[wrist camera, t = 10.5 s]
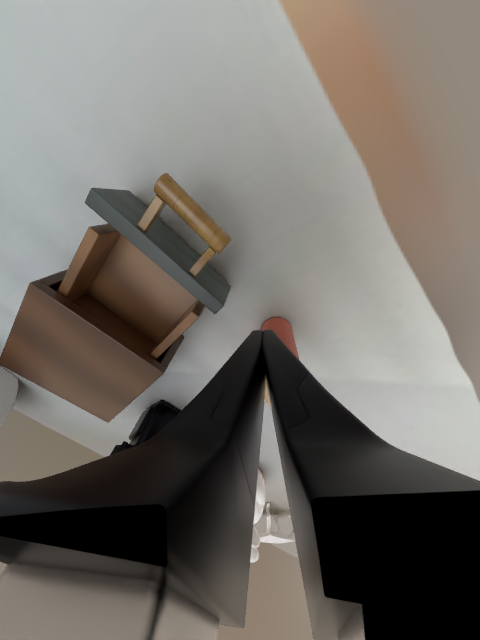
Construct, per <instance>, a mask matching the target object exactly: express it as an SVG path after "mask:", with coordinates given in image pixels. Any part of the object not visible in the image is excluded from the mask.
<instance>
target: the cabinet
mask: <svg viewBox="0 0 480 640" xmlns="http://www.w3.org/2000/svg"><path fill="white" fill-rule="evenodd" d="M67 270H68V269H67ZM67 270H65V271H62V272H59V273H56V274H53V275H50V276H48V277H45V278H42V279H39V280H36V281H34V282H31V283H29V286H28V288H27V291H26V294H25V296H24V299H23V301H22V304H21V306H20V309H19V311H18V314H17V316H16V319H15V321H14V324H13V327H12V329H11V332H10V334H9V337H8V339H7V342H6V344H5V347H4V349H3V352H2V354H1V357H0V365H1V366H3V367H5V368H7V369H9V370H11V371H12V372H14V373H16V374H18V375H20V376H22V377H24V378H26V379H27V380H29V381H31V382H33V383H35V384H37V385H39V386H40V387H42V388H44V389H46V390H48V391H50V392H52V393H54V394H55V395H57V396H59V397H61V398H63V399H65V400H67V401H68V402H70V403H72V404H74V405H76V406H78V407H80V408H81V409H83V410H85V411H87V412H89V413H91V414H93V415H95V416H96V417H98V418H100V419H102V420H104V421H106V422H110V421H111V420H112V419H113V418H114V417H115V416H116V415H117V414H119V413H120V412H121V411H122V410H123V409H124V408H125V407H126V406H128V405H129V404H130V403H131V402H132V401H133V400H134V399H135V398H136V397H138V396H139V395H140V394H141V393H142V392H143V391H144V390H145V389H147V388H148V387H149V386H150V385H151V384H152V383H153V382H154V381H156V380H157V379H158V378H159V377H160V376H161V375H162V374H163V373H164V372H165V370H166V368H167V367H168V365H169V363H170V361H171V360H172V358H173V356H174V354H175V353H176V351H177V349H178V347H179V346H180V344H181V342H182V340H183V338H184V336H182V335H180V336H179V337H178V338H177V339H176V340H175V341H174V342H173V343H172V344H171V345H170V346H169V347H168V348H167V349H166V350H165V351H164V352H163V353H162V354H161V355H160V356H159V357H158V358H157V359H156V360H155V359H153V358H152V357H150V356H149V355H147V354H146V353H145V352H143V351H142V350H140V349H139V348H137V347H136V346H134V345H133V344H132V343H130V342H129V341H127V340H126V339H124V338H123V337H121V336H120V335H118V334H117V333H116V332H114V331H113V330H111V329H110V328H108V327H107V326H105V325H104V324H102V323H101V322H100V321H98V320H97V319H95V318H94V317H92V316H91V315H89V314H88V313H87V312H85V311H84V310H82V309H81V308H79V307H78V306H76V305H75V304H73V303H72V302H71V301H69V300H68V299H66V298H65V297H63V296H62V295H60V294H59V293H57V291H58V289H59V287H60V285H61V283H62V281H63V279H64V277H65V274H66V272H67Z"/></svg>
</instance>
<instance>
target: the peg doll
mask: <svg viewBox="0 0 480 640" xmlns="http://www.w3.org/2000/svg"><path fill="white" fill-rule="evenodd" d="M268 329H272V330H273V331H274V332H275V333H276V334H277V336H278V337H279V338H280V339H281V340H282V341H283V342H284V344H285V345H286V346H287V347H288V348H289V349H290V350H291V351H292V353H293V354H294V355H295V356H296V357H297V358H298V359H299V357H298V353H297V348H296V344H295V340H294V336H293V331H292V327H291V325H290V323H289V322H288V321H287V320H285V319H283V318H280V317H274V318H270V319H268V320H267V321H265V322H264V324H263V325H262V328H261V330H262V332H263V330H268ZM264 399H265V400H266V402H267V403H268V404H269V406H271V404H270V398H269V393H268V387H267V381H266V386H265V398H264Z"/></svg>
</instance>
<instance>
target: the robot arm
mask: <svg viewBox="0 0 480 640" xmlns="http://www.w3.org/2000/svg"><path fill="white" fill-rule="evenodd" d="M266 381H267V387H268V393H269V398H270V404H271V409H272V415H273V420H274V426H275V431H276V436H277V442H278V447H279V453H280V458H281V464H282V469H283V475H284V480H285V486H286V491H287V497H288V502H289V507H290V513H291V519H292V524H293V529H294V535H295V540H296V546H297V551H298V557H299V562H300V568H301V573H302V579H303V584H304V589H305V595H306V600H307V606H308V611H309V617H310V622H311V628H312V634H313V639H315V640H480V481H478V480H476V479H473V478H470V477H468V476H465V475H463V474H460V473H458V472H455V471H453V470H450V469H448V468H445V467H443V466H440V465H438V464H435V463H433V462H430V461H427V460H425V459H422V458H420V457H417V456H415V455H412V454H410V453H407V452H405V451H402V450H400V449H398V448H396V447H394V446H392V445H390V444H389V443H387V442H386V441H384V440H383V439H381V438H380V437H379V436H377V435H376V434H375V433H374V432H372V431H371V430H370V429H369V428H368V427H367V426H365V425H364V424H363V423H362V422H361V421H360V420H359V419H358V418H356V417H355V416H354V415H353V414H352V413H351V412H350V411H349V410H347V409H346V408H345V407H344V406H343V405H342V404H341V403H340V402H339V401H337V400H336V399H335V398H334V397H333V396H332V395H331V394H330V393H329V392H328V391H327V390H326V389H325V388H324V387H323V386H322V385H321V384H320V383H319V382H318V381H317V380H316V379H315V378H314V376H313V375H312V374H311V373H310V372H309V371H308V370H307V369H306V367H305V366H304V365H303V364H302V363H301V362H300V361H299V359H298V358H297V357H296V356H295V355H294V354H293V353H292V351H291V350H290V349H289V348H288V347H287V346H286V345H285V344H284V342H283V341H282V340H281V339H280V338H279V337H278V336H277V334H276V333H275V332H274V331H273V330H272V329H268V330H263V332H262V330H256V331H252V332H251V334H250V335H249V336H248V337H247V338H246V339H245V341H244V342H243V343H242V344H241V345H240V347H239V348H238V349H237V350H236V351H235V352H234V354H233V355H232V356H231V357H230V358H229V359H228V361H227V362H226V363H225V364H224V365H223V367H222V368H221V369H220V370H219V371H218V372H217V374H216V375H215V376H214V377H213V378H212V379H211V381H210V382H209V383H208V384H207V385H206V386H205V387H204V388H203V390H202V391H201V392H200V393H199V394H198V395H197V396H196V397H195V398H194V399H193V400H192V401H191V402H190V403H189V404H188V405H187V406H186V407H185V408H184V409H183V410H182V411H179V410H177V409H176V408H174V407H173V406H171V405H169V404H168V403H166V402H165V401H162V400H161V401H159V402H158V403H156V404H155V405H154V406H153V407H149V408H148V409H147V410H146V411H144V412H143V413H142V415H141V416H140V418H139V420H138V422H137V424H136V425H135V427H134V429H133V431H132V432H131V434H130V436H129V439H130V440H131V442H130V444H128V442H125V441H124V442H123V443H122V445H116V446H115V448H114V449H113V451H112V453H111V454H110V456H107V457H104V458H102V459H99V460H96V461H93V462H90V463H88V464H85V465H82V466H79V467H76V468H74V469H71V470H68V471H65V472H62V473H59V474H56V475H53V476H50V477H46V478H43V479H38V480H33V481H27V482H12V481H3V482H0V561H1V562H3V563H6V564H8V565H7V566H6V567H5V569H4V570H3V572H2V573H1V575H0V640H218V630H219V625H225V626H232V627H238V628H244V625H245V614H246V602H247V591H248V579H249V568H250V557H251V546H252V535H253V523H254V512H255V507H254V506H255V500H256V489H257V477H258V466H259V454H260V443H261V432H262V420H263V409H264V398H265V386H266Z"/></svg>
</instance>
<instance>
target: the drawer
mask: <svg viewBox="0 0 480 640" xmlns="http://www.w3.org/2000/svg"><path fill="white" fill-rule="evenodd" d="M154 192H155V193H156V194H157V195H155V197H154V199H153V200H152V202H151V204H150V205H149V207H148V208H147V207H146V206H145V205H144V204H143V203H142V202H141V201H140V200H139V199H138V198H136V197H135V196H134V195H133V194H132V193H131V192H130V191H127V190H114V189H101V188H91V190H90V192H89V194H88V196H87V199H86V201H85V203H86V204H87V205H88V206H89V207H90V208H91V209H93V210H94V211H95V212H96V213H97V214H98V215H100V216H101V217H102V218H103V219H104V220H105V221H107V222H108V223H109V224H104V225H98V226H91V227H89V228H88V230H87V232H86V234H85V236H84V238H83V240H82V242H81V244H80V246H79V248H78V250H77V252H76V254H75V256H74V258H73V260H72V262H71V264H70V266H69V268H68V270H67V272H66V274H65V277H64V279H63V281H62V283H61V285H60V287H59V289H58V291H57V293H59V294H60V295H62V296H63V297H65V298H66V299H68V300H69V301H71V302H72V303H73V304H75V305H76V306H78V307H79V308H81V309H82V310H84V311H85V312H87V313H88V314H89V315H91V316H92V317H94V318H95V319H97V320H98V321H100V322H101V323H102V324H104V325H105V326H107V327H108V328H110V329H111V330H113V331H114V332H116V333H117V334H118V335H120V336H121V337H123V338H124V339H126V340H127V341H129V342H130V343H132V344H133V345H134V346H136V347H137V348H139V349H140V350H142V351H143V352H145V353H146V354H147V355H149V356H150V357H152V358H153V359H155V360H156V359H157V358H158V357H159V356H160V355H161V354H162V353H163V352H164V351H165V350H166V349H167V348H168V347H169V346H170V345H171V344H172V343H173V342H174V341H175V340H176V339H177V338H178V337H179V336H180V335H181V334H182V333H183V332H184V331H186V330H187V329H188V328H189V327H190V326H191V325H192V324H193V323H194V322H195V321H196V320H197V319H198V318H199V316H200V314H201V313H202V311H203V309H204V307H205V306H206V307H207V308H208V309H209V310H211V311H212V312H213V313H214V314H216V313H217V312H218V311H219V310H220V309H221V308H222V307H223V306H224V304H225V302H226V299H227V296H228V293H229V290H230V288H231V286H230V285H229V284H228V283H227V282H226V281H225V280H224V279H223V278H222V277H221V276H220V275H219V274H217V273H216V272H215V271H214V270H213V269H212V268H211V267H210V266H209V265H208V264H207V262H208V261H209V260H210V259H211V258H212V257H213V255H214V254H215V253H216V252H217V253H218V254H219V253H220V252H221V251H222V250H223V249H224V248H225V247H226V245H227V244H228V243H229V242H230V241H231V238H230V237H229V236H228V235H227V234H226V233H225V232H224V231H223V230H222V229H221V228H220V227H219V226H218V225H217V224H216V223H215V222H214V220H213V219H212V218H211V217H210V216H209V215H208V214H207V213H206V212H205V211H204V210H203V209H202V208H201V207H200V206H199V205H198V204H197V203H196V202H195V201H194V200H193V199H192V198H191V197H190V196H189V195H188V194H187V193H186V192H185V191H184V189H183V188H182V187H181V186H180V185H179V184H178V183H177V182H176V181H175V180H174V179H173V178H172V177H171V176H170V175H169V174H168V173H165V174H163V175H162V176H161V177H160V178H159V179H158V180H157V182H156V184H155V186H154ZM165 204H167V205H168V206H169V207H170V208H172V209H173V210H174V211H175V212H176V213H177V214H178V215H179V216H180V217H181V218H182V219H183V220H184V221H185V222H186V223H187V224H188V225H189V226H190V227H191V228H192V229H193V230H194V231H195V232H196V233H197V234H198V235H199V236H200V237H201V238H202V239H203V240H204V241H205V242H206V243H207V244H208V245H209V246H210V247H209V248H208V249H207V250H206V251H205V252H204V254H203V255H202V256H201V257H199V256H198V255H197V254H196V253H195V252H194V251H193V250H192V249H191V248H190V247H189V246H188V245H187V244H185V243H184V242H183V241H182V240H181V239H180V238H179V237H178V236H177V235H176V234H175V233H174V232H173V231H172V230H171V229H169V228H168V227H167V226H166V225H165V224H164V223H163V222H162V221H161V220H160V219H159V218H158V217H157V216H158V215H159V213H160V212H161V210H162V209H163V207H164V206H165Z"/></svg>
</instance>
